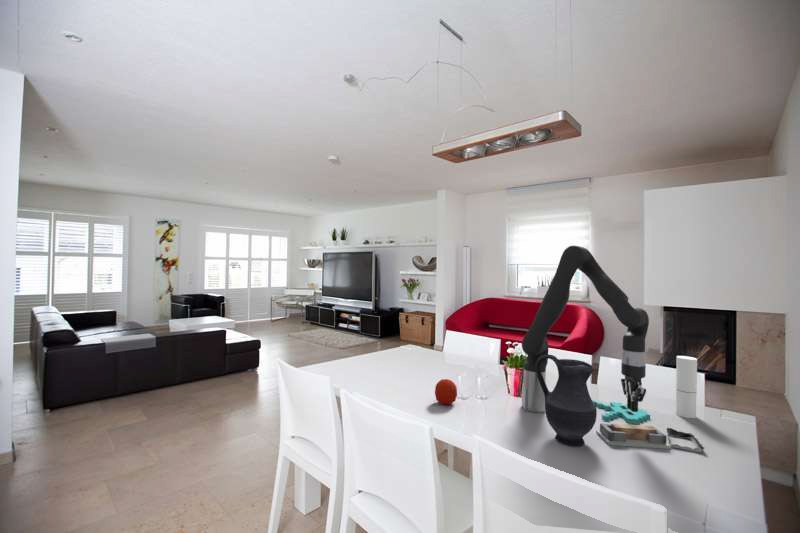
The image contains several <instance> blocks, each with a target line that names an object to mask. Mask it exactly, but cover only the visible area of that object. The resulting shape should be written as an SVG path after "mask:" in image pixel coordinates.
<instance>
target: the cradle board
mask: <svg viewBox="0 0 800 533" xmlns="http://www.w3.org/2000/svg"><path fill="white" fill-rule="evenodd" d="M595 434H597V435H598V436H599V437H600V438H601V439H602V440H603V441H604V443H606V444H607V445H609V446H620V447H621V446H622V447H623V446H624V447H635V448H637V447H638V448H639V447H640V448H650V449H651V448H652V449H653V448H655V449H665V450H667V449H668V450H671V449H672V447H671V446H670V445H669V442H666V444H651V443H649V442H647V441H645V440H630V439H626V442H620V441H609V440H608V439H607V438H606V437H605V436H604V435H603V434H602V433H601V432H600V429H596V430H595Z"/></svg>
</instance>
